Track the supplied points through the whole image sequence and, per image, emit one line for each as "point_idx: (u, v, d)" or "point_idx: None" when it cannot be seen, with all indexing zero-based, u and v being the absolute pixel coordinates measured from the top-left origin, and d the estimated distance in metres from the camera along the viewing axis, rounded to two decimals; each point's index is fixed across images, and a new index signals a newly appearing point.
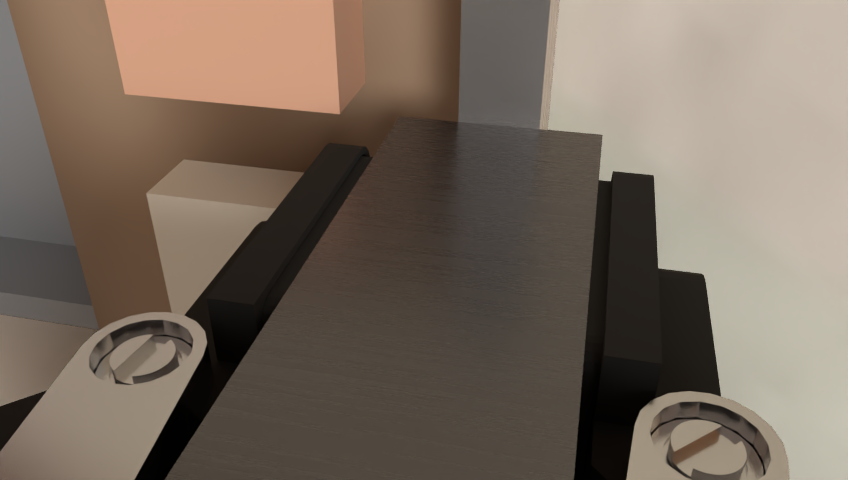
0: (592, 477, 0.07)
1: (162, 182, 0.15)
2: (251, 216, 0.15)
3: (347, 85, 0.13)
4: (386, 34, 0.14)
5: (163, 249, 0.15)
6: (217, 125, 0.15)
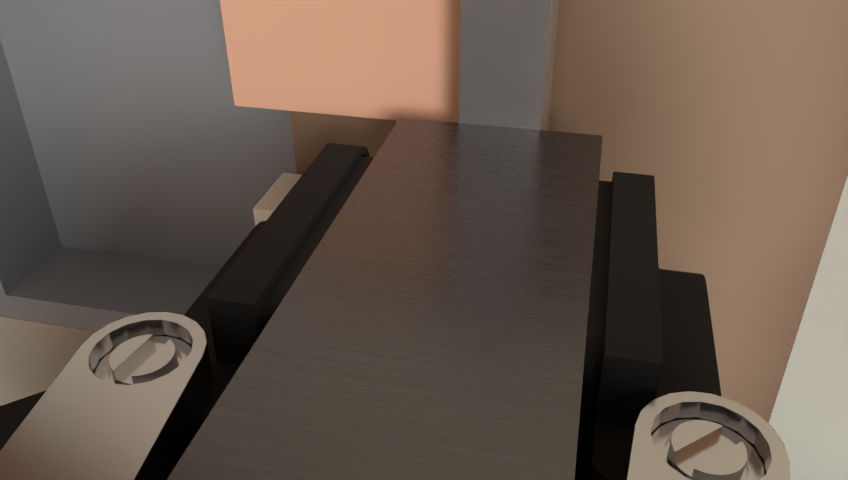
0: (593, 477, 0.07)
1: (266, 197, 0.15)
2: None
3: None
4: (721, 58, 0.13)
5: None
6: None
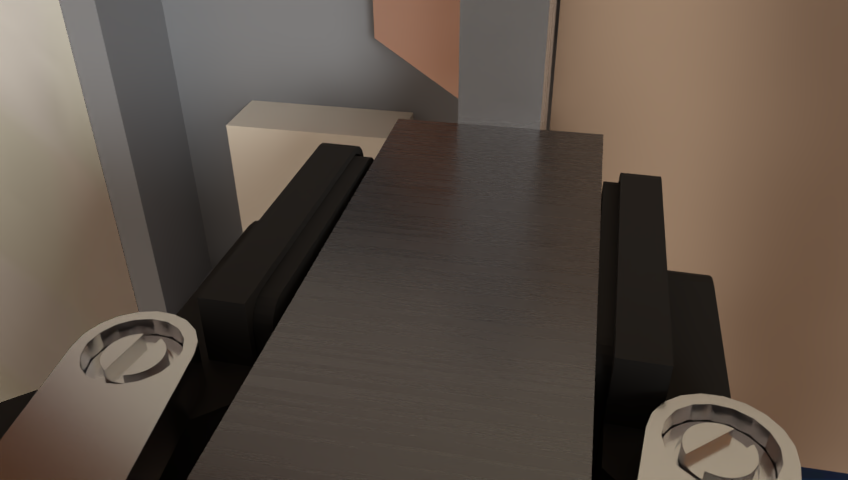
0: None
1: None
2: None
3: None
4: None
5: None
6: (785, 177, 0.13)
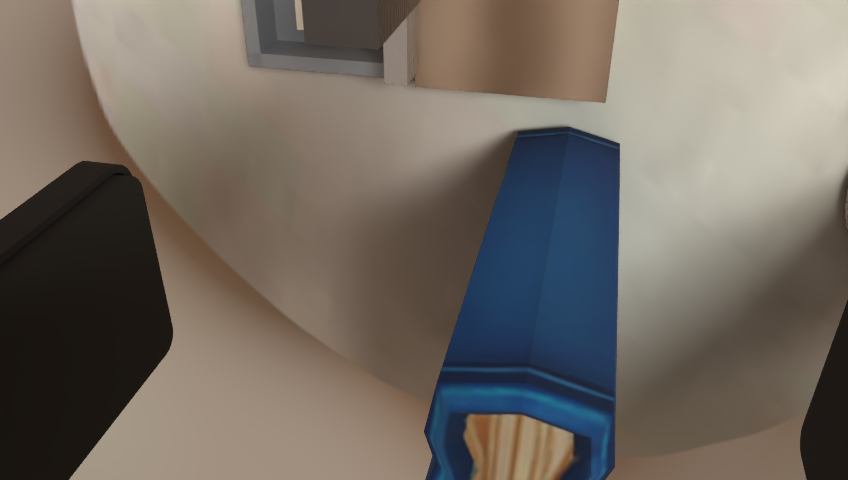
0: None
1: None
2: None
3: None
4: None
5: None
6: None
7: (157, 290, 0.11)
